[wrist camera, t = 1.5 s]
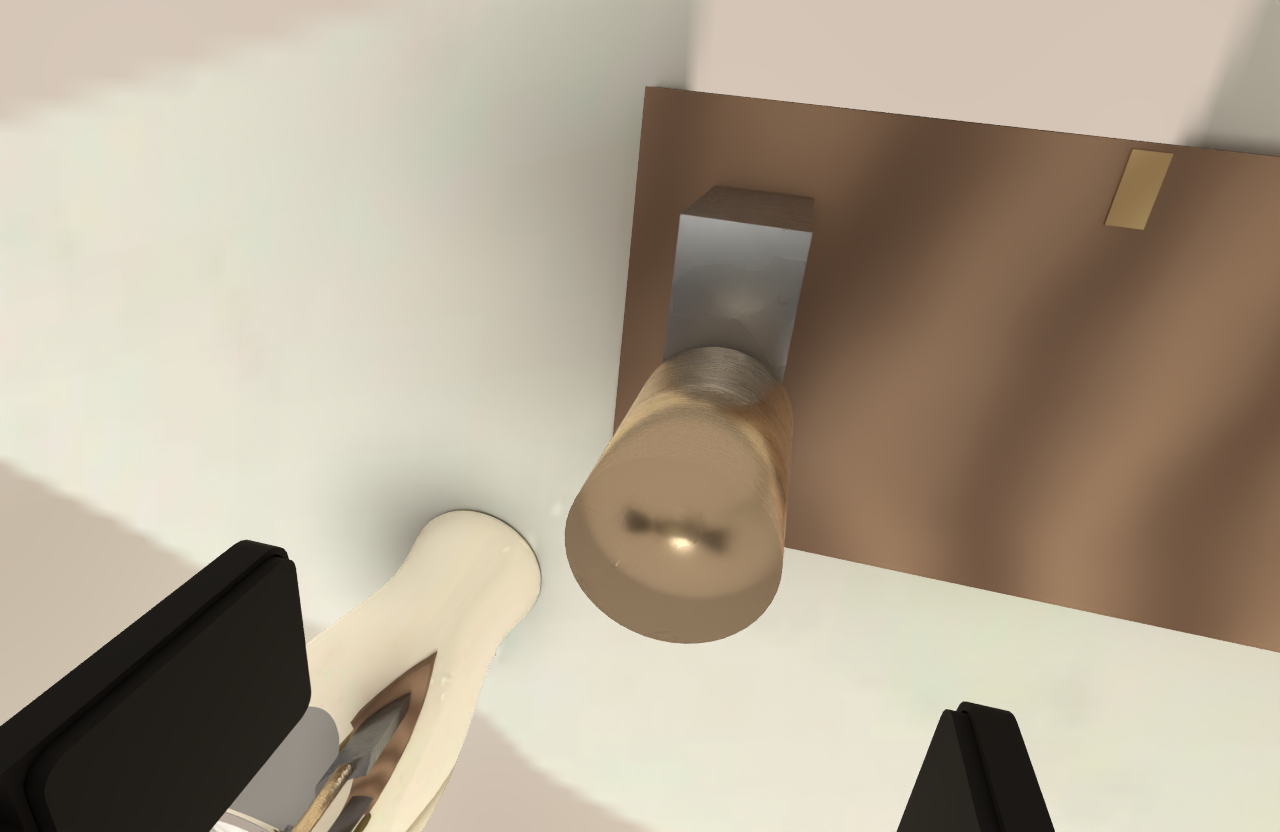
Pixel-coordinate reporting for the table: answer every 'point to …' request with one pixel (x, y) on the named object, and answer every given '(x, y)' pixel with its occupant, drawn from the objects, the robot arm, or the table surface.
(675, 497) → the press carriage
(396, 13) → the table surface
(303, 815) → the beer glass
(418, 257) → the table surface
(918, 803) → the robot arm
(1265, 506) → the base
